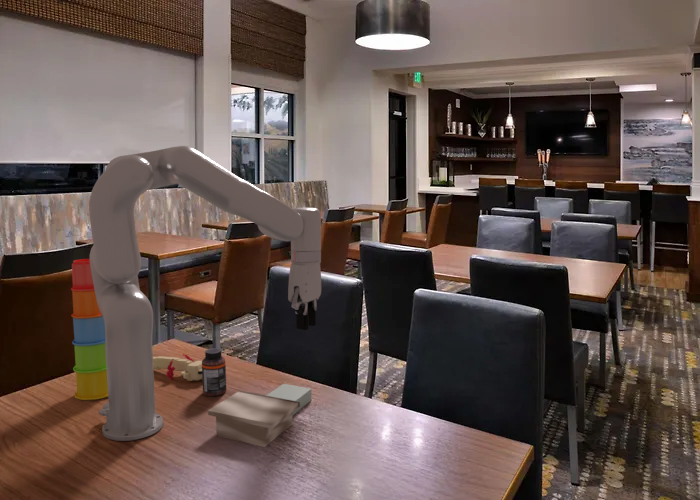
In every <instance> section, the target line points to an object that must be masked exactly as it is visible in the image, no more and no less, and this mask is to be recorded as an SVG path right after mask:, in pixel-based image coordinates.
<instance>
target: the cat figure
mask: <svg viewBox="0 0 700 500" xmlns="http://www.w3.org/2000/svg"><path fill="white" fill-rule="evenodd" d="M182 356H184V358H181V357H175V356H172V357H171V356H161V355H159V356H153V370H160V369H161V370H162V369H163V370H167V372H166V377H168V379H170V380H174V372H180V375H181V376H183V377H182V378H183V379H184V380H185V379H186V381H187V382H188V381H189V382H190V381H191V382H192V381H200V380H202V360H195V361H194V359H193V358H191V357H190V356H188V354H184V353H183V354H182Z"/></svg>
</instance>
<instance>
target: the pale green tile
mask: <svg viewBox="0 0 700 500" xmlns="http://www.w3.org/2000/svg"><path fill="white" fill-rule="evenodd" d="M266 396H271V397H276V398H282V399H287V400H292V401H297V402H300V407H299V408H297V409H296V410H295V411H293V412H292V417H293V416H294V415H295V414H297V413H298V412H299V411H300V410H301V409H303V408H304V407H305V406H307V404H309V403H310V402H311V401H312V388H309V387H304V386H300V385H293V384H287V383H283V384H281V385H279V386H278V387H276V388H275V389H273V390H272V391H271V392H269V393H268V394H266Z"/></svg>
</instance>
